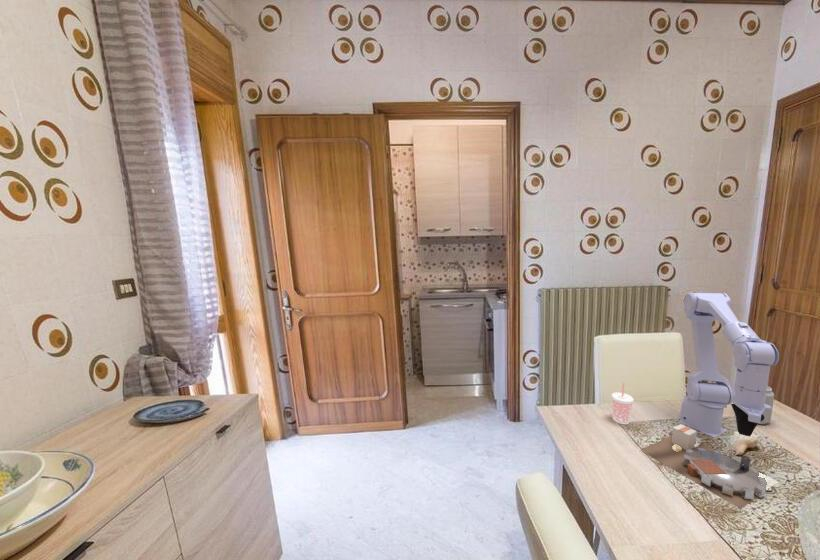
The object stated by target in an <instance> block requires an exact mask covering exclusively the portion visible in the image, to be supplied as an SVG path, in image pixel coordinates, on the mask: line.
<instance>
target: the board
mask: <svg viewBox="0 0 820 560" xmlns="http://www.w3.org/2000/svg"><path fill="white" fill-rule="evenodd" d="M700 443H701V445H700V446H699V447H696V448H704V449H705V450H706V451H710V452H713V450H715V451H717V450H716V449H714V448H712V447H711V446H708V445H706V444H704V443H702V442H700ZM673 445H674V444H673V443H672V435H669V436H667V437H665V438H662V439H661V440H659V441H657V442H655V443H654V442H653V443H652V444H649V445H648V446H645V447H644V448H641V449H640V451H641V452H643V453H644V454H646V455H648V456H650V457H651V458H653V459H654V460H656V461H658V462H660V463H661V464H663V465H665V466H666V467H668V468H670V469H671V470H673V471H675V472H677V473H678V474H679V475H682V476H683V477H685V478H687V479H689V480H691V481H692V482H694V483H695V484H697V485H699V486H701V487H702V488H704V489H705V490H707V491H709V492H711V493H712V494H715V495H716V496H718V497H719V498H721V499H722V500H725V501H726V502H728V503H730V504H731V505H733V506H735V507H737V508H738V509H740V510H741V509H743V508H744V507H746V506H747V505H749V504H750V503H751V502H753V501H755V500H756V499H757V498H759V497H758V496H756V495H755V494H754V497H753V499H744V498H743V497H742V496H741V495H739V494H734V493H733V496H730V495H727V494H724V493H722V490H721V489H719V488H716V487H714V486H711V487H709V486H707V485H705V484H703V483H702V482H701V478H699V477H698V476H692V475H691V474H690V473H689V472H688V471H687V467H688V466H686V465H684V463H683V458H684V455H686V450H684V449H683V448H682V450H681V451H679V452H676V451H674V450H673V449H672V446H673ZM696 448H695V447H694V448H692V449H691V450H693V451H696ZM723 455H725V456H728V457H730V458H732V457H731V456H729V455H727V454H725V453H723ZM756 470H757V469H756ZM757 471H758V472H760V473H762V474H765V473H763V472H762V471H759V470H757ZM765 475H767V474H765ZM767 491H768V490H765V493H766V492H767Z"/></svg>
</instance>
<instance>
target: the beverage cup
mask: <svg viewBox="0 0 820 560" xmlns="http://www.w3.org/2000/svg"><path fill="white" fill-rule="evenodd" d="M621 388H622V389H621V392H613V393H611V399H612V420H613V421H614V422H616V423H618V424H620V425H628V424H630V418H631V414H632V413H631V412H632V406H633V403H634V398H633V397H632V396H631V395H630V394H627V393H625V392H624V391H625V382H622V387H621Z"/></svg>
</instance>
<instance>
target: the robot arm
mask: <svg viewBox="0 0 820 560" xmlns="http://www.w3.org/2000/svg"><path fill="white" fill-rule="evenodd" d="M683 306H684V307H683V308H684V313H685V318H687V319H688V320H689V321H690V322H691V327H692V328H691V329H692V330H691V331H692V337H693V339H692V340H693V347H694V354H695V363H696V371H695V372H693V373H690V375H688V376H687V379H686V381H687V383H686V394H687V395H686V396H684V398H683V399H682V401H681V406H680V407H681V408H680V418H679V420H678V422H679V423H680V424H682V425H685V426H687V427H690V428H691V429H692V428H693V430H695V431H699V432H701V433H703V434H705V435H707V436H709V437H711V438H716V437H718V436H720V435H722V434H724V433H726V432H728V430H727V429H726V428H723V426H722V424H723V417H724V416H723V415H724V409H725V408H726V409H727V408H728V406H729V405H730V406H731V408H732V410H733V412H734V415H735V422H736V428H737V432H738V433H739V435H741V436H745V437H751V436H752V435H753V432H754V431H755V429H756V427H757V426H758V425H761V424H760V422H761V421H763V420H764V418H765V417H764V415H763V414H762V413H763V412H764V411H765V410H769V411H770V410H771V407H770V406H769V405H767V404H765V399H766V392H767V386H768V385H769V377H770V373H771V372H770V370H771V367H772V366H775V365H777V364H778V362H779V360H780V353H779V351H778V349H777V347H776V346H775V344H774V343H773V342H768V341H766V340H763V339H761V338H760V337H759V336H758V334H757V333H756V332H755V331H754V329H752V328H751V326H749V324H748V323H746V322H743V321H740V320H739V319H738V318H737V316H736V314H735V313H734V311H733V310H732V309H731V306H732V300H731V298H730V296H729V295H728V294H727V293H725V292H720V293H719V292H716V293H715V292H714V293H713V292H712V293H711V292H693V291H689V292H688V293H687V294H686V295H685V296H684V300H683ZM714 321H718V323H719V324H721V325H722V327H723V328H722V334H723V336H724V337H725V338H726V340H727V341H728V342H729V343H730V345H731V346H732V347H733V348H732V352H733V353H732V354H733V358H734V367H735V368H736V373H735V378H734V379H735V380H734V387H733V388H732V387H731V383H730V380H729V379H728V378H726V377H725V376H724V375H722V374H720V372H719V368H718V360H717V353H716V347H715V339H714V338H715V337H714V332H713V326H712V325H713V322H714ZM704 381H705V382H704Z"/></svg>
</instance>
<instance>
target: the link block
mask: <svg viewBox="0 0 820 560" xmlns="http://www.w3.org/2000/svg"><path fill="white" fill-rule="evenodd" d="M697 435H698V430H696V429H694V428H693V429H692V427H690V426H688V425H685V424H683V423H680V424H678V425H676V426H673V428H672V435H671V436H672V443H673V444H677V445H679V446H680V447H681V448H683V449H684V450H686V451H687V450H689V449H692V448H694V445H695V444H696V441H697V437H698V436H697Z"/></svg>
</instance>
